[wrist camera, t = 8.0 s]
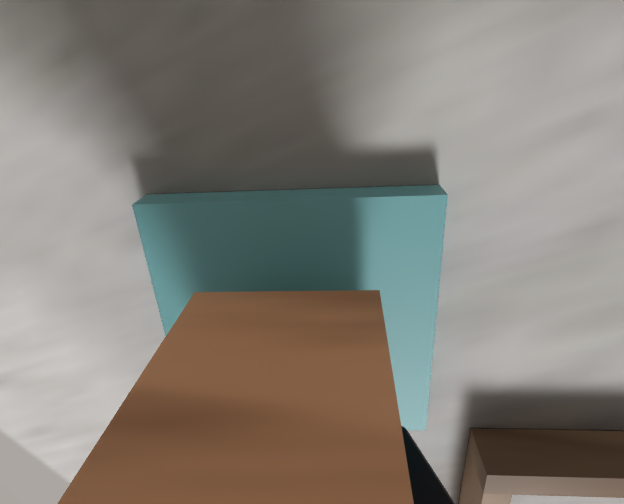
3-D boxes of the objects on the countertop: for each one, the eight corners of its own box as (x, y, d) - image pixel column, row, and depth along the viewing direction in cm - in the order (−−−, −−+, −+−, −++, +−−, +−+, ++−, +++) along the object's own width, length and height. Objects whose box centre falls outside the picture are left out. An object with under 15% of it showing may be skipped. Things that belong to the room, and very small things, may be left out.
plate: (420, 409, 16) (425, 430, 15) (197, 406, 16) (188, 426, 16) (439, 184, 12) (447, 195, 11) (147, 194, 13) (132, 204, 12)
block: (376, 427, 13) (421, 911, 5) (221, 424, 13) (71, 870, 6) (379, 290, 11) (459, 784, 3) (194, 292, 11) (-90, 732, 4)
